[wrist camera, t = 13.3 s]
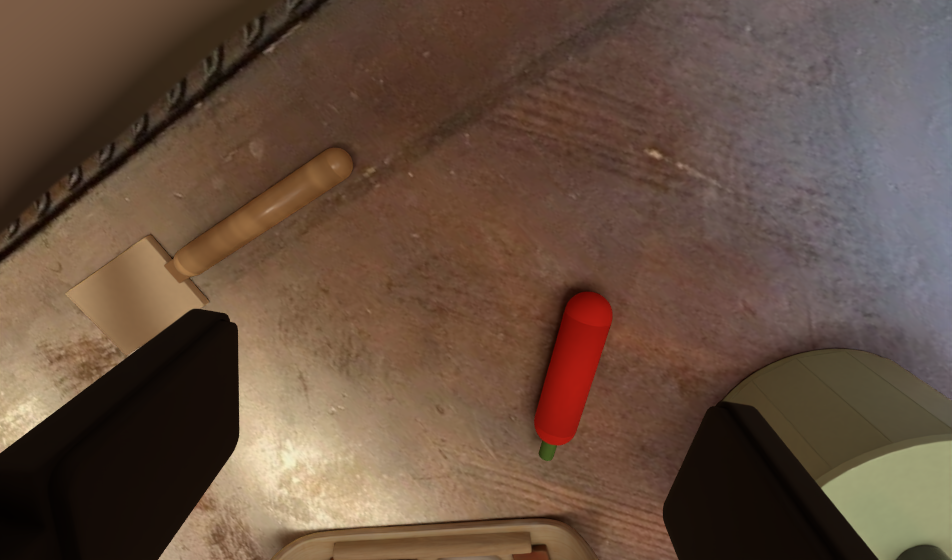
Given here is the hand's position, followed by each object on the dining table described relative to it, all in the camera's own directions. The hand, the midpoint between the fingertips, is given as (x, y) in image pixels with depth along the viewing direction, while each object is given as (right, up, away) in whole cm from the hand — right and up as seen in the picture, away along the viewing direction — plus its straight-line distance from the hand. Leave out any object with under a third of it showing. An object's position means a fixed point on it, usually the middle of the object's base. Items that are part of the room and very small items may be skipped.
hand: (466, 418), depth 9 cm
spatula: (-16, +5, +20) cm, 26 cm away
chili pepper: (+5, -3, +20) cm, 21 cm away
